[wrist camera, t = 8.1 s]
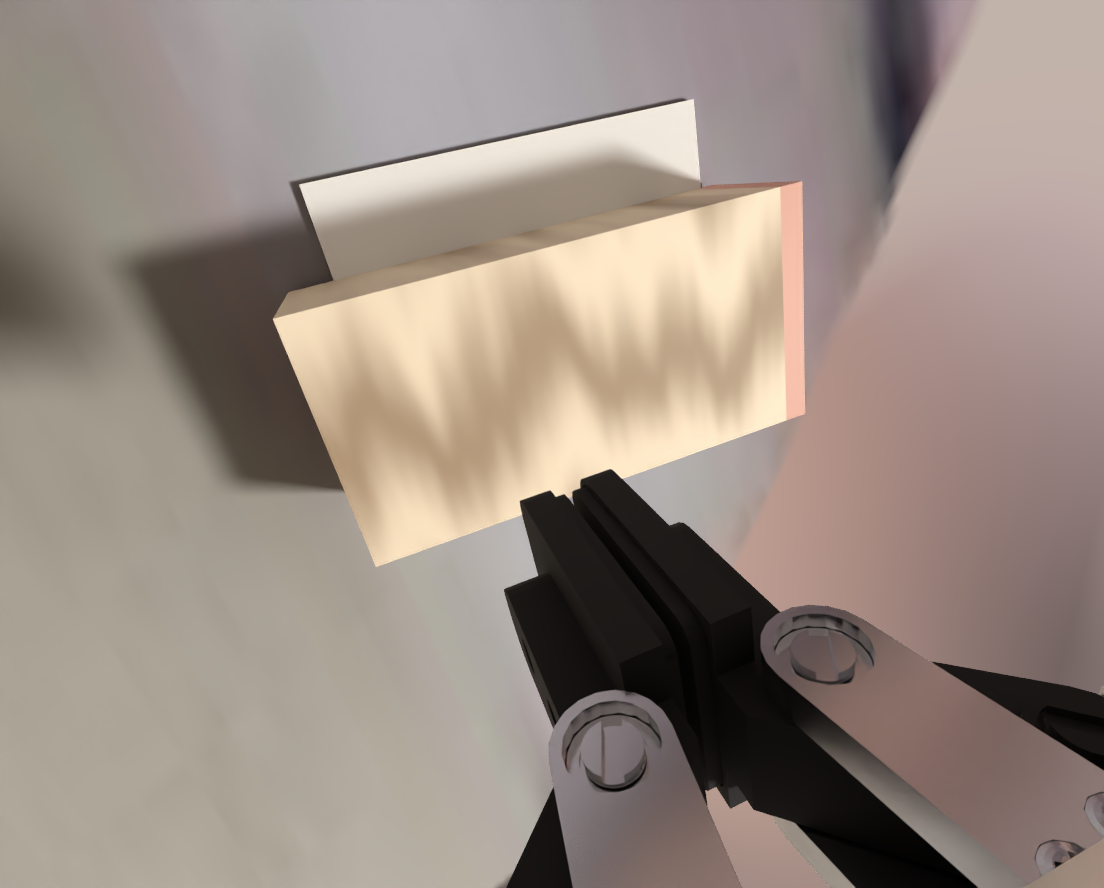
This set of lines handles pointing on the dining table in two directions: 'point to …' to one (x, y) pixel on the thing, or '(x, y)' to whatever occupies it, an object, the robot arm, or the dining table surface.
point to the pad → (502, 188)
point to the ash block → (552, 358)
